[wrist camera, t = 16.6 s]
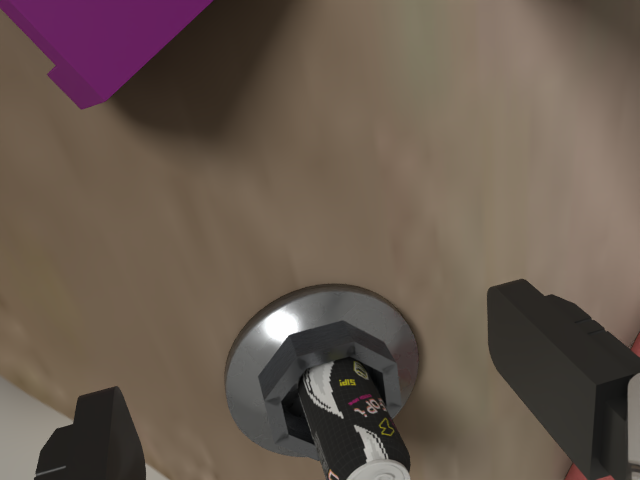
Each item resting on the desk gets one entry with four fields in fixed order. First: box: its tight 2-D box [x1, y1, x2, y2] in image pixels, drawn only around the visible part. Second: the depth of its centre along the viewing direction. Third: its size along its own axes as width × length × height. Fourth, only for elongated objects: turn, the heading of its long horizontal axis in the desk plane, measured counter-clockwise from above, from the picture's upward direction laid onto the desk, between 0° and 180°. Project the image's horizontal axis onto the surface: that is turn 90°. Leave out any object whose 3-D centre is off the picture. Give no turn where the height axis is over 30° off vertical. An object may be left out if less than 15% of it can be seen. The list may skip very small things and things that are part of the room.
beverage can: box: [298, 356, 410, 480], centre depth 44 cm, size 6×6×12 cm
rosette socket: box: [224, 284, 419, 461], centre depth 49 cm, size 16×16×4 cm
